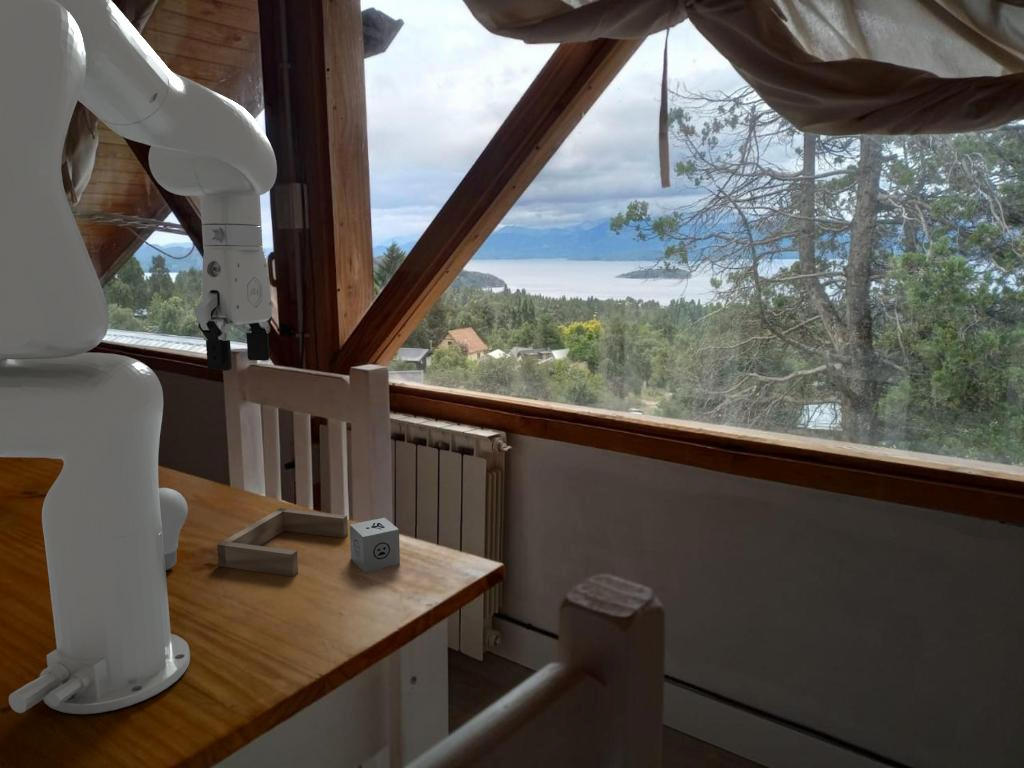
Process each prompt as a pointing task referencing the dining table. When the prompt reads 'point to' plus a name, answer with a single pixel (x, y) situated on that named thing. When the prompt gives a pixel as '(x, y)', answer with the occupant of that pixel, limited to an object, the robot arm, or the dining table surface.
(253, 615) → the dining table surface
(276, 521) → the box
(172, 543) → the lightbulb
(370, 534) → the dice cube
